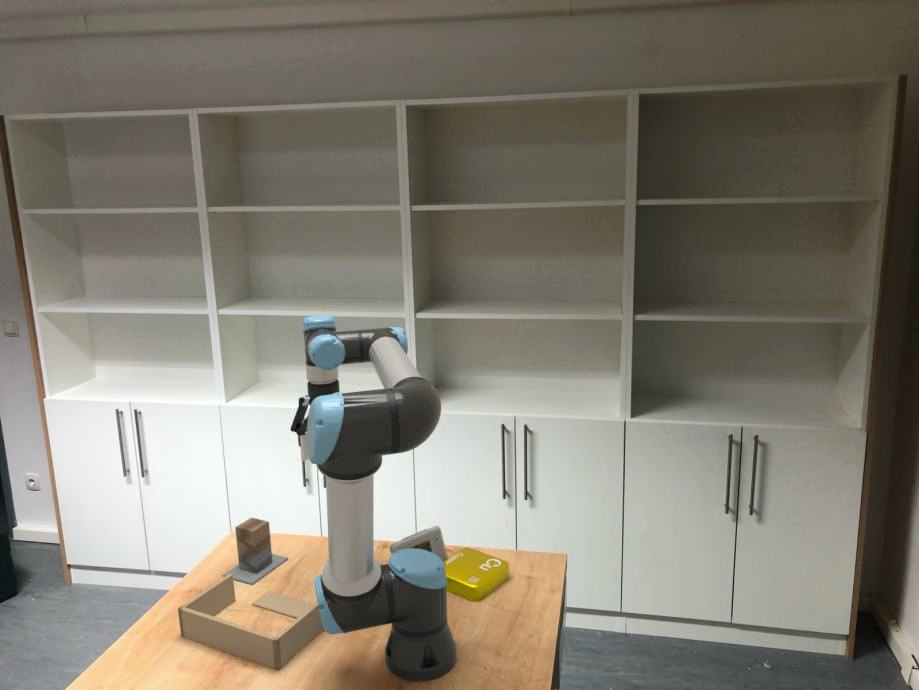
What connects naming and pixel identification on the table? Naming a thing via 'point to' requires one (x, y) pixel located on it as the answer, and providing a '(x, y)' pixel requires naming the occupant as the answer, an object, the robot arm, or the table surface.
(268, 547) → the reflective metal box
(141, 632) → the table surface
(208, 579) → the table surface
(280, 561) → the mat
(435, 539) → the digital clock
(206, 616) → the cardboard walls
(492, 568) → the element tile
